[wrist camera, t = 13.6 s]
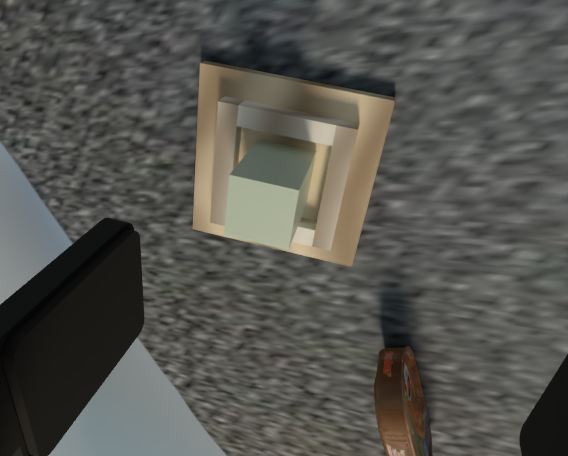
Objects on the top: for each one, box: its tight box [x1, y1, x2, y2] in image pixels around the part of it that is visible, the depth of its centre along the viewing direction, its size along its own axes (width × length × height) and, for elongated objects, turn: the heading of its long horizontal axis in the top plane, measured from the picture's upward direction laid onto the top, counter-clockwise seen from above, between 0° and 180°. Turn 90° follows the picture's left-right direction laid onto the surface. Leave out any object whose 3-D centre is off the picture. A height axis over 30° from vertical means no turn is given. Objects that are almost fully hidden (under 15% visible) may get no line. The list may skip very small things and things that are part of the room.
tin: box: [374, 346, 433, 456], centre depth 42 cm, size 15×3×8 cm, turn 17°
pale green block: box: [224, 139, 316, 250], centre depth 33 cm, size 4×4×7 cm
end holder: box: [193, 61, 395, 267], centre depth 36 cm, size 14×14×2 cm
